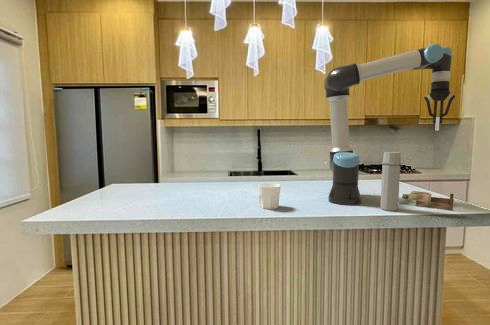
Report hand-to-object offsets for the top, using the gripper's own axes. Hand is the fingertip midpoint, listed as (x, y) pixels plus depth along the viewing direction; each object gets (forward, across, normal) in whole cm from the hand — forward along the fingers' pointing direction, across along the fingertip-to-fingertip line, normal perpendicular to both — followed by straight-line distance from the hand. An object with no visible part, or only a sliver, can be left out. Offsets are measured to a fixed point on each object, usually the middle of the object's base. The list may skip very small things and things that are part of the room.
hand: (437, 130), depth 149 cm
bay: (+34, -2, -14) cm, 37 cm away
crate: (+35, -4, -14) cm, 38 cm away
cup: (+35, -60, -60) cm, 92 cm away
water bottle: (+35, -15, -33) cm, 50 cm away
